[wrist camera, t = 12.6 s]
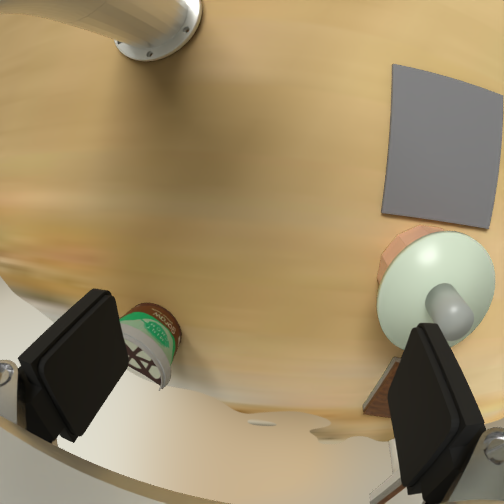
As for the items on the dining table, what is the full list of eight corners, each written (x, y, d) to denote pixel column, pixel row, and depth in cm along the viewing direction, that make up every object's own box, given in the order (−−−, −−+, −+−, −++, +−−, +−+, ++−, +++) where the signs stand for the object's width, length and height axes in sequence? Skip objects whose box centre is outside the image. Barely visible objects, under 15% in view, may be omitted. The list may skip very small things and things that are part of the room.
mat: (391, 64, 29) (393, 63, 28) (500, 96, 27) (503, 95, 26) (380, 211, 36) (382, 212, 35) (486, 227, 33) (488, 228, 33)
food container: (203, 328, 46) (180, 371, 37) (185, 351, 48) (162, 393, 39) (136, 280, 45) (100, 313, 36) (123, 306, 48) (89, 341, 38)
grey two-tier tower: (393, 356, 42) (432, 583, 10) (446, 367, 42) (504, 558, 10) (362, 405, 47) (368, 600, 15) (412, 412, 46) (438, 587, 14)
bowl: (387, 220, 36) (402, 239, 29) (468, 232, 34) (493, 251, 28) (370, 307, 40) (378, 337, 34) (446, 312, 38) (463, 340, 32)
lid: (391, 222, 29) (408, 242, 24) (505, 239, 27) (532, 259, 21) (363, 346, 35) (369, 380, 29) (467, 349, 32) (483, 378, 27)
